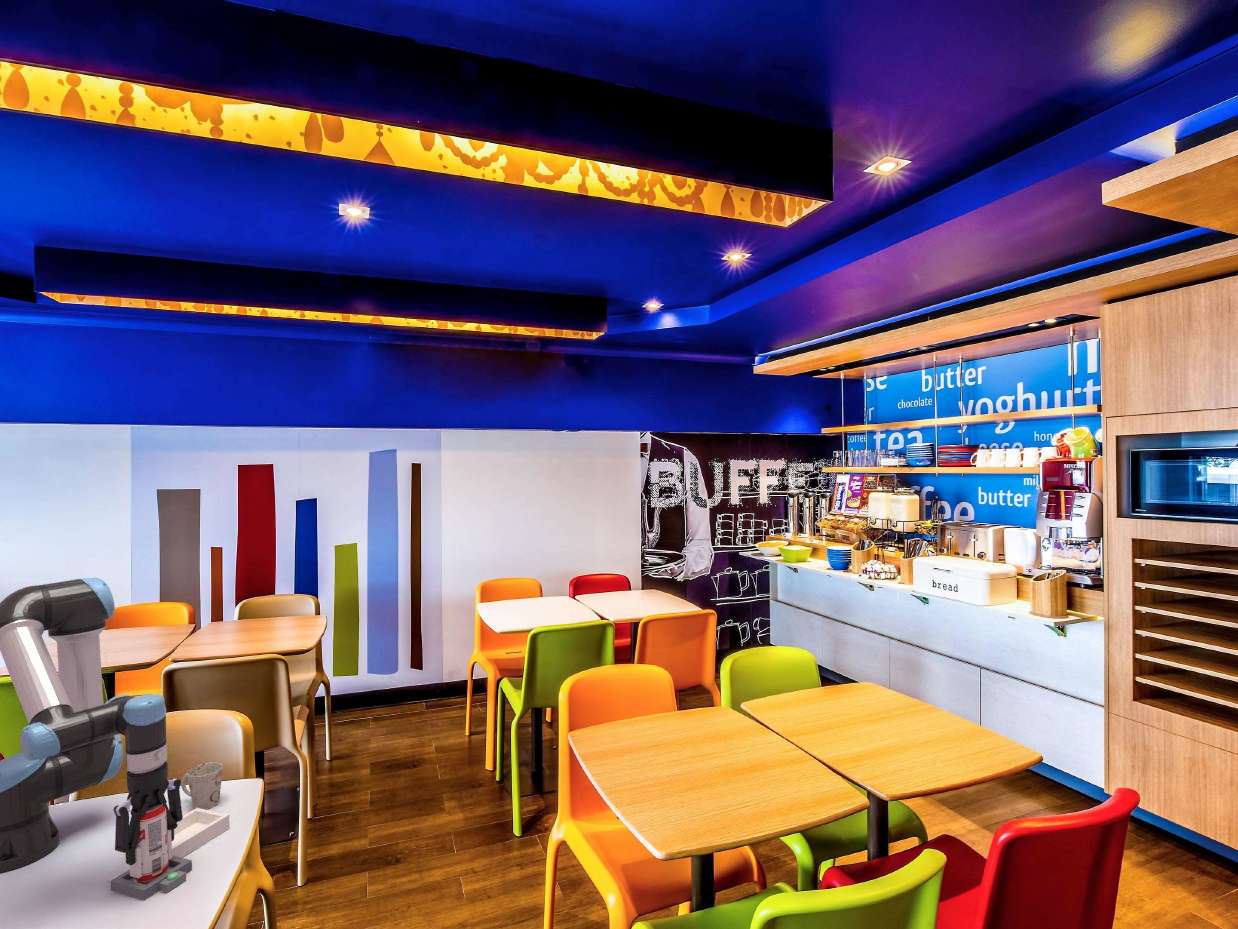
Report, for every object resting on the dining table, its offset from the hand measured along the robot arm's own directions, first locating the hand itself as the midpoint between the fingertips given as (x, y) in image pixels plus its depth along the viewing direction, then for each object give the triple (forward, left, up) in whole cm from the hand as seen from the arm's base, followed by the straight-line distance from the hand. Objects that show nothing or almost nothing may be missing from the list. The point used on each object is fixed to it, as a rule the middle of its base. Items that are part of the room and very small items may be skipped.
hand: (151, 866), depth 147 cm
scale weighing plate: (0, 0, -4) cm, 4 cm away
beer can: (0, 0, -2) cm, 2 cm away
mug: (-20, +27, -3) cm, 34 cm away
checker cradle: (+1, 0, -3) cm, 3 cm away
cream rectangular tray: (-7, +13, -3) cm, 15 cm away
